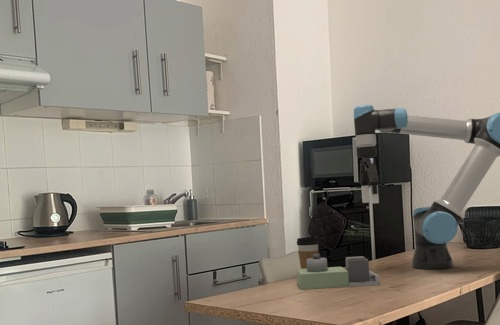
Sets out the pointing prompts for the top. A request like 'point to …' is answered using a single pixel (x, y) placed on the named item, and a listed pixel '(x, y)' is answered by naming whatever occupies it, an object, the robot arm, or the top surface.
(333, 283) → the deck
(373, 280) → the chute bracket
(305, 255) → the coffee cup
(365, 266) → the grey block
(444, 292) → the top surface
